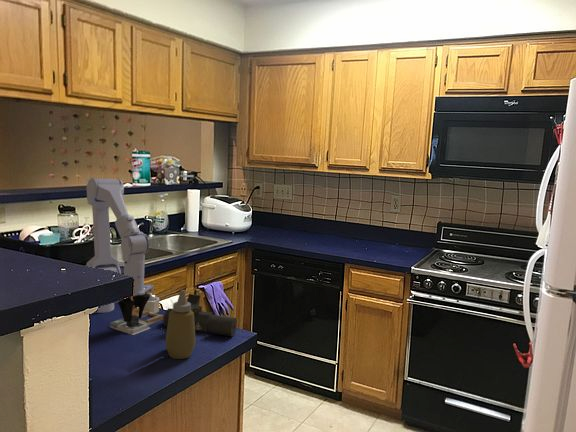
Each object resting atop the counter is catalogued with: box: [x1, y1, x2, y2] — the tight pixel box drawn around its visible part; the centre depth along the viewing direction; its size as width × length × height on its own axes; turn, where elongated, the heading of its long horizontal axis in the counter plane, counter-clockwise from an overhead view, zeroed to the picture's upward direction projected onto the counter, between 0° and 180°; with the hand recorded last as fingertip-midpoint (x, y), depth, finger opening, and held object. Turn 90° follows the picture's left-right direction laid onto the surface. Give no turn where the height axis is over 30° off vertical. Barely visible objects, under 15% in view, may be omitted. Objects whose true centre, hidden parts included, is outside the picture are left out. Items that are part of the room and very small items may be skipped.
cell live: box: [126, 305, 140, 327], centre depth 141 cm, size 4×4×6 cm
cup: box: [143, 296, 160, 314], centre depth 158 cm, size 6×6×5 cm
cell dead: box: [147, 292, 157, 301], centre depth 157 cm, size 4×4×6 cm
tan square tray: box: [139, 310, 164, 326], centre depth 150 cm, size 7×8×2 cm
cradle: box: [109, 317, 151, 336], centre depth 142 cm, size 10×7×2 cm
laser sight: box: [162, 293, 238, 337], centre depth 145 cm, size 10×22×10 cm, turn 79°
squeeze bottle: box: [164, 289, 197, 360], centre depth 127 cm, size 8×8×18 cm
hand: (132, 319), depth 141 cm, fingers closed on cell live, 4 cm apart
